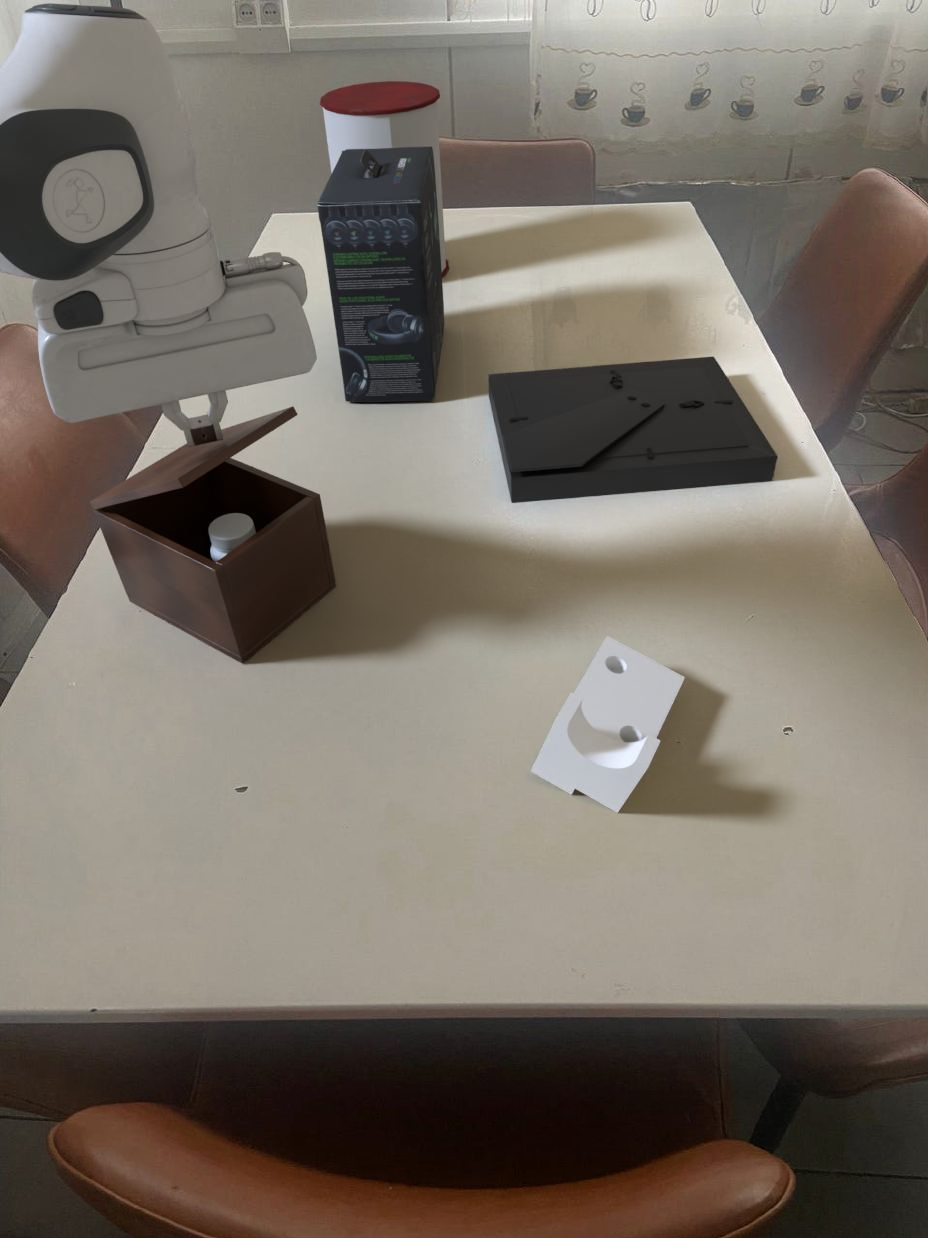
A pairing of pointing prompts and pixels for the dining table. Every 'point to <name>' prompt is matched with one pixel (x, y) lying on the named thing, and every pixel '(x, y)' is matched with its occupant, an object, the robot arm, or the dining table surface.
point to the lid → (192, 461)
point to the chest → (241, 580)
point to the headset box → (385, 272)
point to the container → (385, 125)
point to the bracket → (609, 726)
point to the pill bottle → (229, 533)
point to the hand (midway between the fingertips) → (205, 440)
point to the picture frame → (625, 430)
